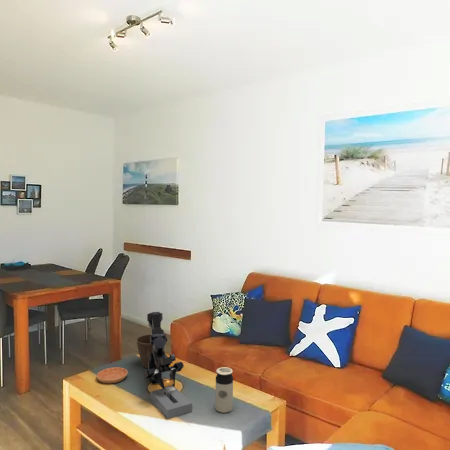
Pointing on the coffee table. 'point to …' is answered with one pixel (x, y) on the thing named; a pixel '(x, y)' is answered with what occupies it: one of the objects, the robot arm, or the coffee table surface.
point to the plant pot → (144, 349)
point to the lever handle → (168, 386)
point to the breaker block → (171, 402)
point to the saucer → (112, 375)
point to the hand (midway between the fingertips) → (169, 387)
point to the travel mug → (224, 390)
